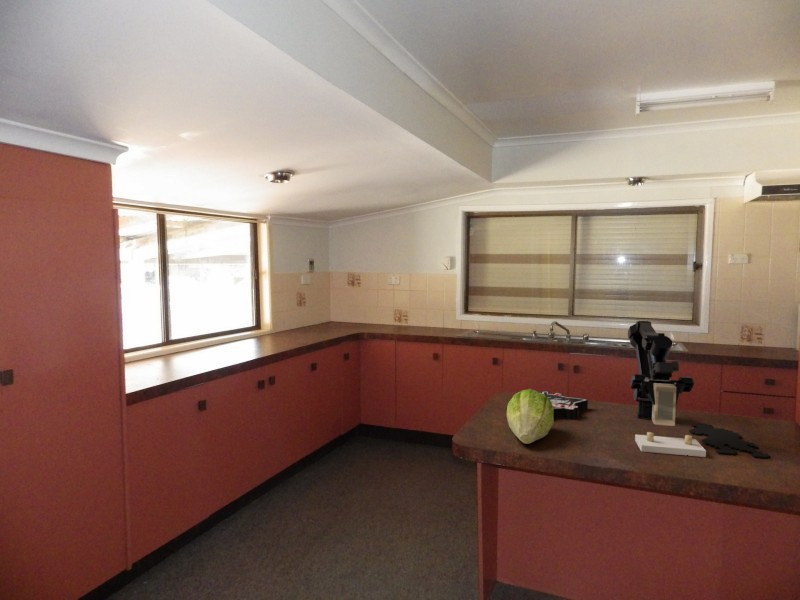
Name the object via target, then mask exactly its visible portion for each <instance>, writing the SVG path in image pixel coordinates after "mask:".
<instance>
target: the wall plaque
mask: <svg viewBox="0 0 800 600" xmlns="http://www.w3.org/2000/svg"><path fill="white" fill-rule="evenodd" d="M520 391H521V390H520ZM520 391H518V392H520ZM539 392H540V393H542V394H544V395H545V396H546V397H547V398H548V399H550V401H551V403H552V405H553V409H554V412H553V417H554V420H555V419H567V420H574V419H576V418H578V417H579V412H583V411H587V410H588V408H589V407H588V406H589V400H588V398H587V399H586V398H578V397H572V396H571V397H570V396H565V395H564V394H563V393H561V392H554V393H551V392H550V391H549V390H547V391H543V390H542V391H539Z"/></svg>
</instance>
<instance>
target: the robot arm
mask: <svg viewBox="0 0 800 600" xmlns="http://www.w3.org/2000/svg"><path fill="white" fill-rule="evenodd" d="M627 339H628V340H629V342H630V343H629V344H630V346H632V347H633V348H634V350H635V355H636V356H635V357H636V361H637V368H638V374H637V373H636V374H635V373H633V374H632V375H631V377H630V383H629V385H630V389H632V390H633V393H632V394H633V396H632V397H633V400H634V401H635V402H636V403H637V411H636V412H635V415H636V418H637V419H643V420H647V419H648V420H652V407H653V405H655V398H654V394H653V383H661V384H673V385H675V386H676V406H677V405H678V400H679V395H680V394H681V395H682V394H683V393H691V391H692V389H693V387H694V385H695V381H694V378H692V377H691V376H679V377H678V379H677V380H676V379H673V380H672V379H671V378H672V377H673V373H676V372H677V373H678V371H680V365H679V362H678V361H676V360H675V361H674V360H673V361H671V362H668V360H667V357H668V356H669V353H670V351H671V349H672V346H673V340H672V339H671V338H670V337H669V336H667V335H665V333H664V332H656V330H655V328H654V327H653V326H652V322H651V321H649V320H637V321H635V324H633V325H630V326H629V328H628V331H627Z"/></svg>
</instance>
